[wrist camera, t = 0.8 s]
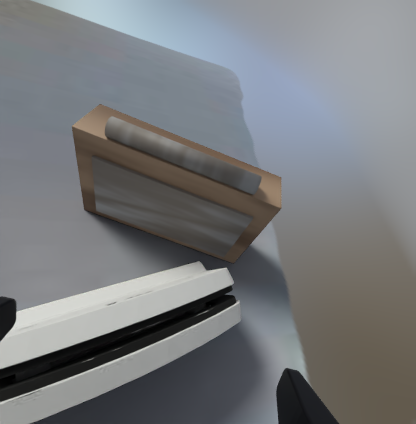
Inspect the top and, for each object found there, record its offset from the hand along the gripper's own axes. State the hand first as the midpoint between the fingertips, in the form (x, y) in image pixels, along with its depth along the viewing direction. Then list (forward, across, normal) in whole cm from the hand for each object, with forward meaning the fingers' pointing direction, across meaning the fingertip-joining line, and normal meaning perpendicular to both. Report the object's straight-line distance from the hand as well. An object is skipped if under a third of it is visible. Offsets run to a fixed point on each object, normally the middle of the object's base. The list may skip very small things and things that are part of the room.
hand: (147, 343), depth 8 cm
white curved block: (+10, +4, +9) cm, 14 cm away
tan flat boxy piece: (+19, +4, +3) cm, 19 cm away
